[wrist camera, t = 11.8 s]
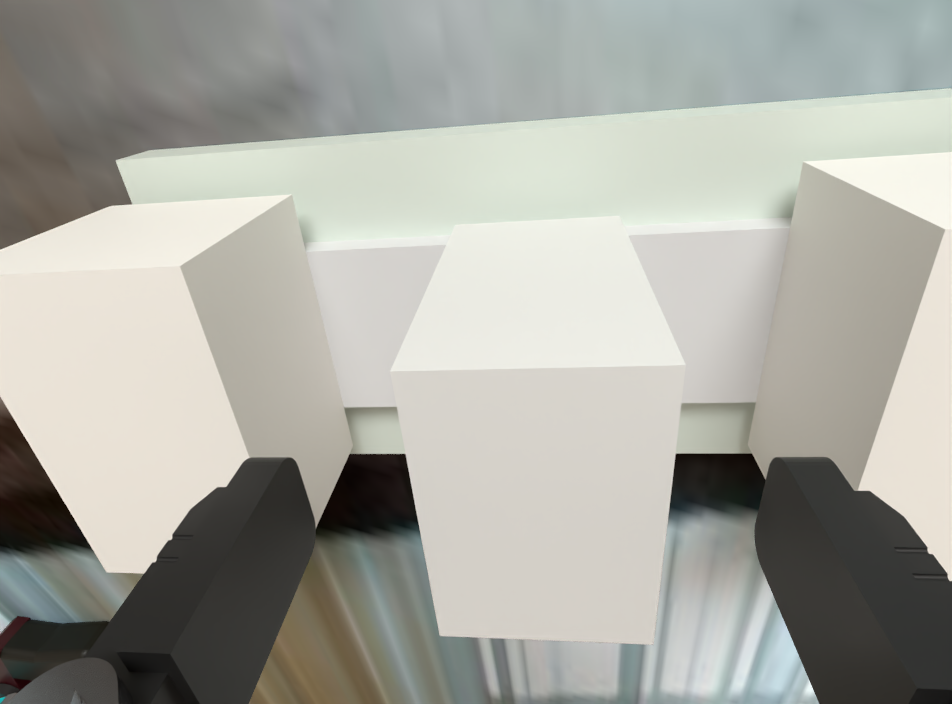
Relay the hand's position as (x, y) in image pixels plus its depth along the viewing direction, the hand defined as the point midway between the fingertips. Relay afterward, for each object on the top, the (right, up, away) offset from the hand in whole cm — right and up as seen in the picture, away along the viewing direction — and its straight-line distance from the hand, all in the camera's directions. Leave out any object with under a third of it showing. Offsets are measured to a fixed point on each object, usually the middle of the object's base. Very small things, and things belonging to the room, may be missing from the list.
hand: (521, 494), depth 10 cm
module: (+1, +3, +5) cm, 6 cm away
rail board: (+1, +4, +7) cm, 9 cm away
